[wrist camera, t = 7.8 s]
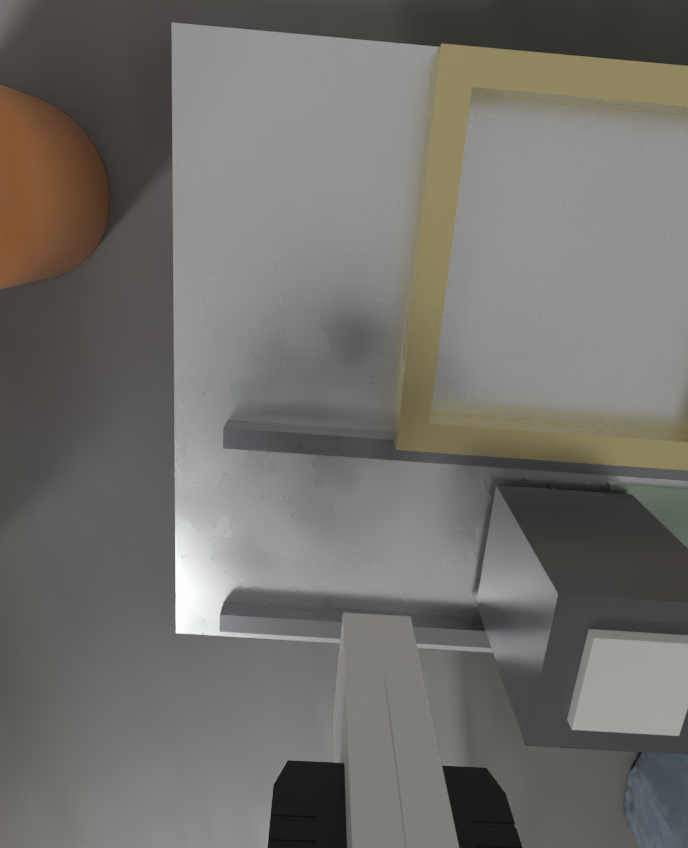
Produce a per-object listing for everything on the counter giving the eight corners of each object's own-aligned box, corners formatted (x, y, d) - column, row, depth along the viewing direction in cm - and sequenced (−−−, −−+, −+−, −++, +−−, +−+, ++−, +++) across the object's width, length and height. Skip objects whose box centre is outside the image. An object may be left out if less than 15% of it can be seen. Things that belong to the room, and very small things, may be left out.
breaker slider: (476, 603, 20) (529, 756, 14) (496, 485, 18) (563, 602, 13) (603, 611, 20) (705, 766, 14) (631, 494, 19) (756, 614, 13)
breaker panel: (186, 605, 22) (166, 658, 19) (186, 38, 16) (157, 6, 14) (647, 633, 22) (687, 689, 20) (794, 93, 17) (875, 73, 14)
